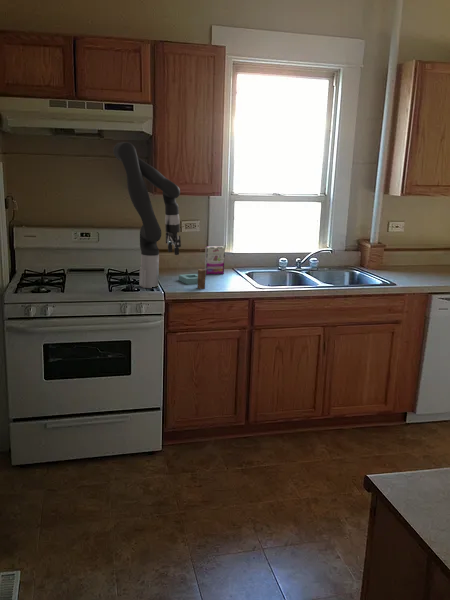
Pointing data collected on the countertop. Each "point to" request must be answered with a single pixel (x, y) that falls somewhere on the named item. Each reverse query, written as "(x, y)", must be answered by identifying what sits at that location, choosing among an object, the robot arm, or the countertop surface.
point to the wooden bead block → (189, 278)
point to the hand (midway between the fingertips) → (173, 253)
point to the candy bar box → (214, 259)
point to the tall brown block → (201, 278)
